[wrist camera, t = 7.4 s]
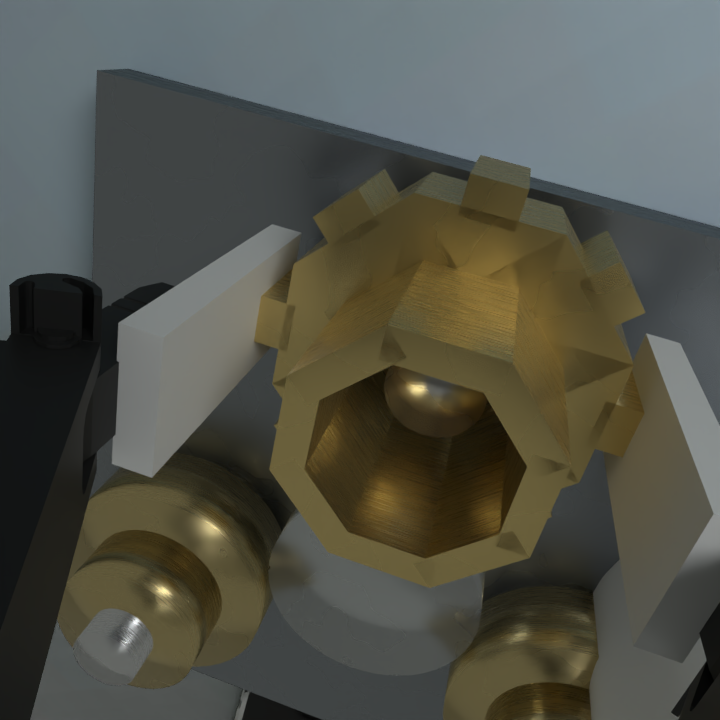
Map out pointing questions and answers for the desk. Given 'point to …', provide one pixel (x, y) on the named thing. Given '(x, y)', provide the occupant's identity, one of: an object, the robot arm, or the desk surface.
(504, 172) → the gear
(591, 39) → the desk surface
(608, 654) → the cylinder container
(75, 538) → the robot arm
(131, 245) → the plate
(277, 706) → the smartphone
